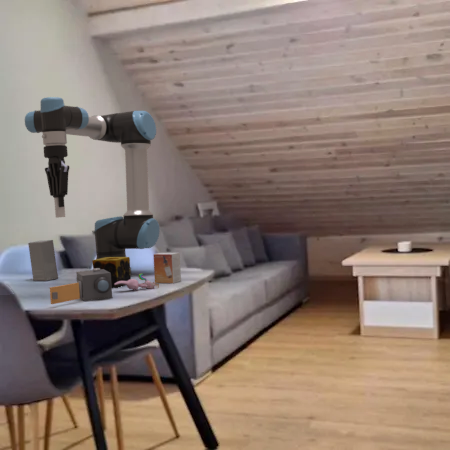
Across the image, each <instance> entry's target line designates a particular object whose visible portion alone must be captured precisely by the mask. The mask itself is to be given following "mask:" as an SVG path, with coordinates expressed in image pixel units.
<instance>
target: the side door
mask: <svg viewBox="0 0 450 450" xmlns="http://www.w3.org/2000/svg"><path fill="white" fill-rule="evenodd" d="M49 297H50V305H55V304H60V303H64V302H65V303H66V302H69V301H74V300H82V286H81V281H78V283H77V282H73V283H68V284H63V285H56V286H50V287H49Z"/></svg>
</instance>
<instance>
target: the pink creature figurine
mask: <svg viewBox="0 0 450 450" xmlns="http://www.w3.org/2000/svg"><path fill="white" fill-rule="evenodd" d="M143 275H144V273H139V274H138V279H139V280H141V281H144V282H140V283H139V281H138V280H137V279H135V278H131V279H130V280H128V281H118V282H116V283H115V284H114V285H118V284H125V286H126V287H127V288H128V289H129V290H132V291H133V292H134V291H135V290H136V291H137V290H138V289H139V288H142V289H148V290H153V289H155V288H157V289H159V288H160V287H159V284H160V283H157V282H156V283H155V281H153V282H152V281H150V280H148V279H147V278H146V277H145V276H143Z"/></svg>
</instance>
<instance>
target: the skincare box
mask: <svg viewBox="0 0 450 450" xmlns="http://www.w3.org/2000/svg"><path fill="white" fill-rule="evenodd" d="M27 245H28V250H29V251H28V252H29V260H30V266H31V273H32V280H33V281H35V282H36V281H43V282H44V281H51V280H58V279H59V274H58V267H57V262H56V261H57V260H56V252H55V247H54V240H53V239H48V240H37V241H30V242H28V243H27Z"/></svg>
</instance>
